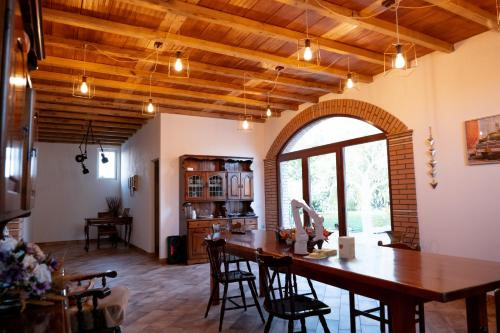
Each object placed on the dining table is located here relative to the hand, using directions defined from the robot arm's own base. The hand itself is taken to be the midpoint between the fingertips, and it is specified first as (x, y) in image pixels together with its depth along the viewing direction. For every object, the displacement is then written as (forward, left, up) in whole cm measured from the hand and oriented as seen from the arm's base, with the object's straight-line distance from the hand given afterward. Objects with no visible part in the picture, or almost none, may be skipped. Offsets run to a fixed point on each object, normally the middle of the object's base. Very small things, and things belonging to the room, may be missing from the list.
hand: (319, 249), depth 273 cm
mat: (0, -6, -5) cm, 8 cm away
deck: (0, +7, -5) cm, 9 cm away
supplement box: (+19, +7, -5) cm, 21 cm away
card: (0, -5, -3) cm, 6 cm away
